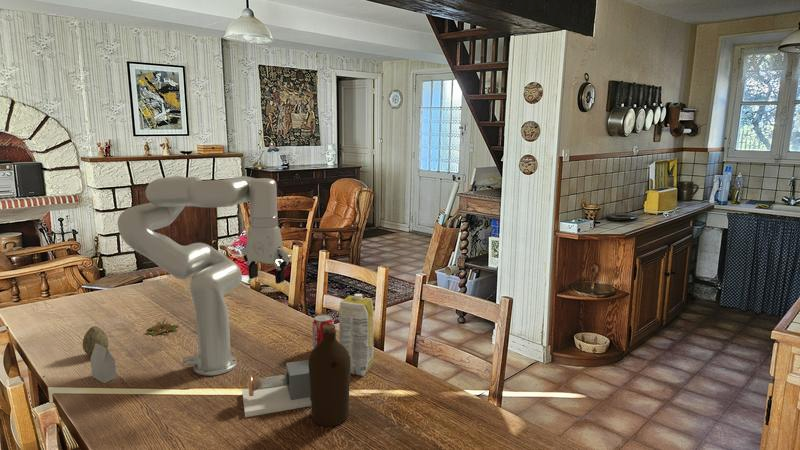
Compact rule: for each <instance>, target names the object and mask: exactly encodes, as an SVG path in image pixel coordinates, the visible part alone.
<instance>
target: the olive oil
mask: <svg viewBox="0 0 800 450" xmlns="http://www.w3.org/2000/svg"><path fill="white" fill-rule="evenodd" d="M336 336H337V331H336V325H335V324H334V325H333V324H325V325H323V331H322V337H323V340H322V341H321V342H320V343H319V344H318V345H317V346H316V347H315V348H314V349H312V351H311V353H310V354H309V357H308V360H309V362H308V366H309V377H310V390H311V396H310V400H311V404H312V406H311V417H312V420H313V422H314V423H315V424H317V425H319V426H322V427H336V426H339V425H341V424H343V423H345V422H346V421H347V420H348V418H349V414H350V413H349V412H350V383H351V374H350V364H351V361H350V356H349V353H348V351H347V349H346V348H345V347H344V346H343V345H341V344H340V341H338V340H337V337H336Z"/></svg>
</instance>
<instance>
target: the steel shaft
mask: <svg viewBox="0 0 800 450" xmlns="http://www.w3.org/2000/svg"><path fill="white" fill-rule="evenodd" d="M288 385H289V374H281V375H280V374H279V375H271V376H267V377H260V378H253V374H248V375H247V387H248V388H247V389H249V397H250V396H253V391H256V390H262V389H269V388H275V387H281V386H288Z"/></svg>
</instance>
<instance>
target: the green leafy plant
mask: <svg viewBox="0 0 800 450" xmlns="http://www.w3.org/2000/svg"><path fill="white" fill-rule="evenodd" d="M154 322H155V323H156V324H155V326H153V325H152V326H151V327H149V328H148V331H146V332H145V333H144V335H148V334H152V335H153V337H156V336H157V335H158V334H160V335H164V336H168V335H169V334H170V333H171V331H174V332H177V331H178V330H177V329H176V328H178V327H179V325H175V324H171V323H169V321H167V322H166V318H165V319H164V317H163V319H162V320H161V322H160V321H158V320H157V319H155V321H154ZM164 328H165V329H166V330H165V329H164ZM160 329H161V331H160ZM152 331H153V332H152ZM167 331H168V332H167ZM150 332H152V333H150ZM164 332H165V333H164ZM166 332H167V333H166Z"/></svg>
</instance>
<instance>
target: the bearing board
mask: <svg viewBox="0 0 800 450" xmlns="http://www.w3.org/2000/svg"><path fill="white" fill-rule="evenodd" d="M308 362H309V359H304V360H303V359H302V360H298V361H290V362H286V363H285V369H286V370H285V371H286V374H289V385H288V386H281V387H275V388H269V389H262V390H256V391H253V396H250V397H249V388H243V389H242V401H243V409H244V418H248V417H256V416H261V415H267V414H271V413H272V414H273V413H279V412H283V411H290V410H295V409H301V408H307V407H312V404H311V400H310V396H311V390H310V377H309V366H308Z"/></svg>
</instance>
